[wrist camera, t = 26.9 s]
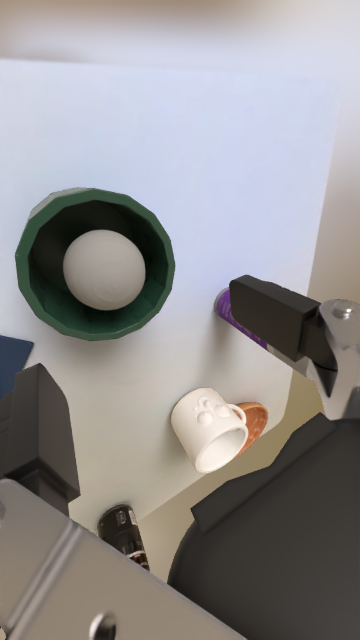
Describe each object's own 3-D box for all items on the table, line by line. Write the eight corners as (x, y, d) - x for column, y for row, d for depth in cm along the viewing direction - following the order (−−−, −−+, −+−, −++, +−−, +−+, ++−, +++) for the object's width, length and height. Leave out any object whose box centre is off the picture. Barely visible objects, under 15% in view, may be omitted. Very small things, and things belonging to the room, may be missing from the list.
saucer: (195, 422, 44) (204, 435, 42) (260, 384, 50) (271, 393, 47) (203, 462, 53) (210, 475, 51) (257, 427, 58) (266, 437, 56)
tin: (6, 274, 20) (-10, 317, 14) (51, 160, 18) (57, 145, 12) (113, 311, 27) (136, 352, 20) (155, 228, 25) (197, 244, 18)
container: (211, 295, 32) (307, 356, 21) (238, 281, 33) (343, 331, 22) (216, 321, 35) (303, 388, 23) (241, 307, 36) (335, 365, 25)
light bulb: (126, 265, 24) (165, 302, 17) (74, 286, 23) (92, 336, 15) (105, 210, 21) (142, 224, 14) (44, 229, 20) (47, 257, 12)
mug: (228, 369, 42) (266, 406, 35) (222, 408, 47) (255, 448, 40) (166, 393, 37) (196, 441, 30) (168, 434, 42) (194, 483, 35)
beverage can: (107, 529, 47) (123, 613, 38) (88, 521, 43) (102, 614, 34) (136, 506, 48) (159, 582, 39) (122, 496, 44) (143, 579, 35)
